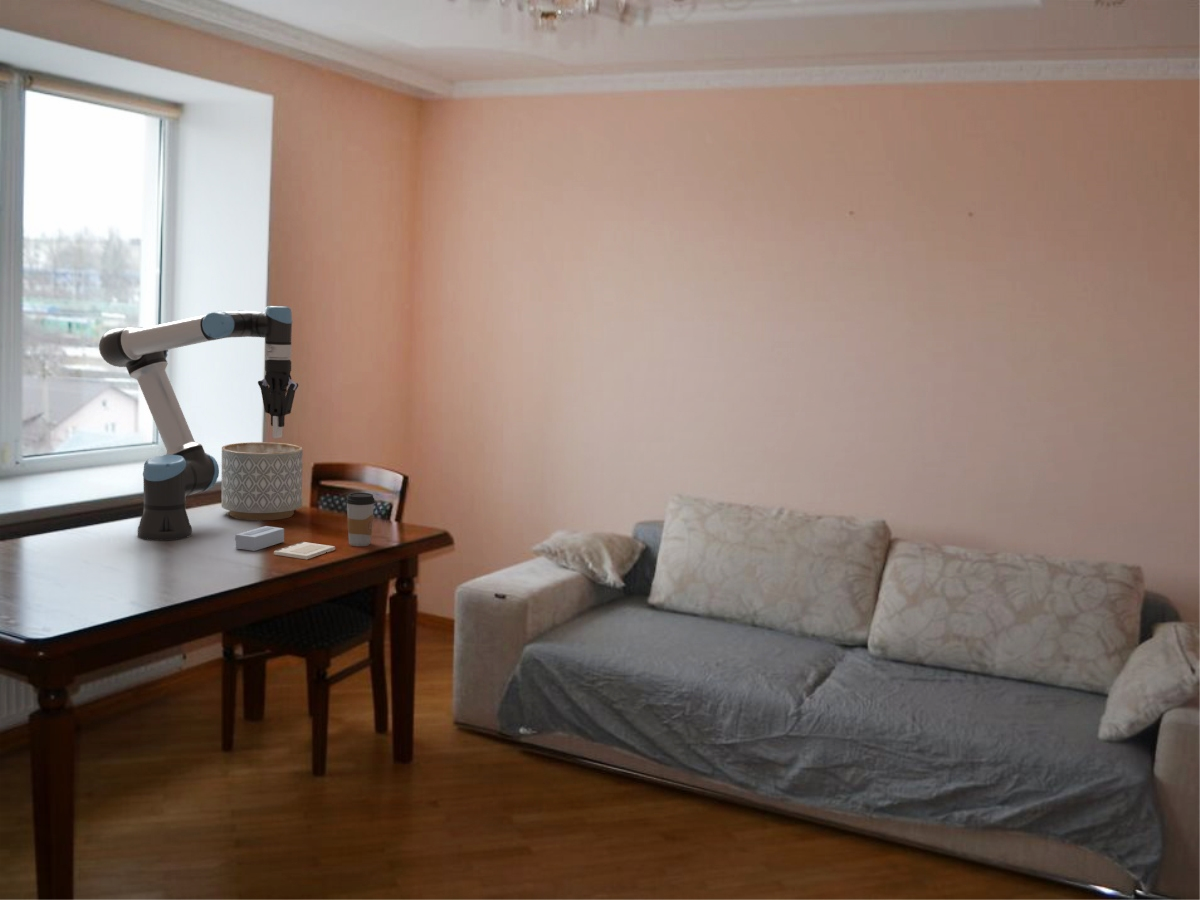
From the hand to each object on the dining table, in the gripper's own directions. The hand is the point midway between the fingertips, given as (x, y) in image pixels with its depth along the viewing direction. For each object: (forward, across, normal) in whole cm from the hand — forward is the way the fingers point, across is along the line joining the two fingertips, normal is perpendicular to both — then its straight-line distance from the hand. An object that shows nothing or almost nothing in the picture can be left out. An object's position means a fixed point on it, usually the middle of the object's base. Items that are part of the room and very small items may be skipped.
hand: (277, 437), depth 341 cm
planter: (+31, -24, +25) cm, 46 cm away
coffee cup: (+31, +26, +5) cm, 40 cm away
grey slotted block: (+30, +3, -12) cm, 33 cm away
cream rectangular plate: (+30, +18, -12) cm, 38 cm away
